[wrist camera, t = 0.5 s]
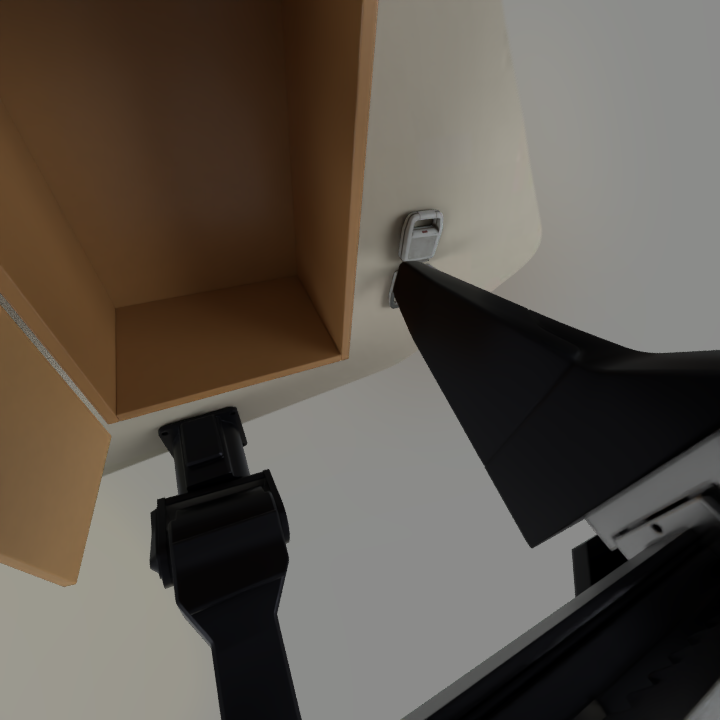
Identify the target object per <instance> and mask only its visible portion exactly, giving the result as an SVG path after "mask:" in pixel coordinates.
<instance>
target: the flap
mask: <svg viewBox="0 0 720 720" xmlns="http://www.w3.org/2000/svg"><path fill="white" fill-rule="evenodd" d="M110 440H111V435H110V434H109V433H108V432H107V430H106V429H105V428H104V427H103V426H102V425H101V423H100V422H99V421H98V420H97V419H96V417H95V416H94V415H93V414H92V413H91V411H90V410H89V409H88V408H87V407H86V406H85V404H84V403H83V402H82V401H81V400H80V398H79V397H78V396H77V395H76V394H75V393H74V391H73V390H72V389H71V388H70V387H69V385H68V384H67V383H66V382H65V381H64V380H63V378H62V377H61V376H60V375H59V374H58V372H57V371H56V370H55V369H54V368H53V367H52V365H51V364H50V363H49V362H48V361H47V359H46V358H45V357H44V356H43V355H42V354H41V352H40V351H39V350H38V349H37V348H36V346H35V345H34V344H33V343H32V342H31V341H30V339H29V338H28V337H27V336H26V335H25V333H24V332H23V331H22V330H21V329H20V327H19V326H18V325H17V324H16V323H15V322H14V320H13V319H12V318H11V317H10V316H9V314H8V313H7V312H6V311H5V310H4V309H3V307H2V306H1V305H0V563H2V564H5V565H8V566H10V567H13V568H15V569H18V570H21V571H23V572H26V573H29V574H32V575H34V576H37V577H39V578H42V579H44V580H47V581H50V582H52V583H55V584H58V585H60V586H63V587H66V586H70V585H74V584H76V582H77V578H78V574H79V570H80V566H81V562H82V557H83V553H84V549H85V544H86V541H87V537H88V532H89V528H90V524H91V520H92V516H93V511H94V507H95V503H96V499H97V495H98V490H99V486H100V482H101V478H102V474H103V469H104V465H105V461H106V457H107V453H108V449H109V444H110Z"/></svg>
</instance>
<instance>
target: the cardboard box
mask: <svg viewBox="0 0 720 720" xmlns="http://www.w3.org/2000/svg"><path fill="white" fill-rule="evenodd" d="M377 12H378V0H0V293H1V294H2V295H3V297H4V298H5V299H6V300H7V302H8V303H9V304H10V305H11V306H12V308H13V309H14V310H15V311H16V313H17V314H18V315H19V316H20V317H21V319H22V320H23V321H24V322H25V324H26V325H27V326H28V327H29V328H30V330H31V331H32V332H33V333H34V335H35V336H36V337H37V338H38V339H39V341H40V342H41V343H42V344H43V346H44V347H45V348H46V349H47V350H48V352H49V353H50V354H51V355H52V356H53V358H54V359H55V360H56V361H57V363H58V364H59V365H60V366H61V367H62V369H63V370H64V371H65V372H66V374H67V375H68V376H69V377H70V378H71V380H72V381H73V382H74V383H75V385H76V386H77V387H78V388H79V389H80V391H81V392H82V393H83V394H84V396H85V397H86V398H87V399H88V400H89V402H90V403H91V404H92V405H93V407H94V408H95V409H96V410H97V411H98V413H99V414H100V415H101V416H102V418H103V419H104V420H105V421H106V422H107V424H112V423H116V422H119V421H123V420H127V419H130V418H134V417H138V416H141V415H145V414H148V413H152V412H156V411H159V410H163V409H167V408H170V407H174V406H178V405H181V404H185V403H189V402H192V401H196V400H200V399H203V398H207V397H210V396H214V395H218V394H221V393H225V392H229V391H232V390H236V389H240V388H243V387H247V386H251V385H254V384H258V383H262V382H265V381H269V380H272V379H276V378H280V377H283V376H287V375H291V374H294V373H298V372H302V371H305V370H309V369H313V368H316V367H320V366H324V365H327V364H331V363H334V362H338V361H340V360H345V359H348V358H349V349H350V337H351V325H352V313H353V301H354V288H355V276H356V264H357V252H358V240H359V228H360V216H361V204H362V192H363V180H364V168H365V156H366V144H367V132H368V120H369V108H370V96H371V84H372V72H373V60H374V48H375V36H376V24H377Z"/></svg>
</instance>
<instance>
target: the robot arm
mask: <svg viewBox="0 0 720 720" xmlns="http://www.w3.org/2000/svg"><path fill="white" fill-rule="evenodd" d="M393 293H394V297H395V299H396V301H397V304H398V306H399V308H400V311H401V313H402V315H403V318H404V320H405V322H406V325H407V327H408V329H409V332H410V334H411V336H412V338H413V340H414V342H415V344H416V345H417V347H418V349H419V351H420V352H421V354H422V356H423V358H424V360H425V361H426V363H427V365H428V367H429V368H430V370H431V372H432V374H433V376H434V378H435V379H436V381H437V383H438V385H439V386H440V388H441V390H442V392H443V393H444V395H445V397H446V399H447V400H448V402H449V404H450V406H451V408H452V409H453V411H454V413H455V415H456V417H457V418H458V420H459V422H460V424H461V426H462V427H463V429H464V431H465V433H466V434H467V436H468V438H469V440H470V442H471V443H472V445H473V447H474V449H475V451H476V452H477V454H478V456H479V458H480V459H481V461H482V463H483V465H485V469H486V470H487V472H488V474H489V476H490V478H491V479H492V481H493V483H494V485H495V487H496V488H497V490H498V492H499V494H500V496H501V497H502V499H503V501H504V503H505V504H506V506H507V508H508V510H509V512H510V513H511V515H512V517H513V518H514V520H515V522H516V524H517V526H518V527H519V529H520V531H521V533H522V535H523V537H524V538H525V540H526V542H527V543H528V544H529V546H530V547H531V548H534V547H535V546H537V545H539V544H541V543H543V542H545V541H546V540H548V539H550V538H552V537H553V536H555V535H557V534H559V533H560V532H562V531H564V530H566V529H567V528H569V527H571V526H573V525H574V524H576V523H578V522H580V521H582V520H583V519H585V520H586V521H587V522H588V524H589V525H590V526H591V527H592V528H593V530H594V531H595V532H596V533H597V535H595V536H594V537H592V538H590V539H588V540H587V541H585V542H584V543H582V544H580V545H578V546H577V547H576V548H574V549H572V559H573V572H574V584H575V598H574V599H573V600H571V601H570V602H568V603H567V604H565V605H564V606H563V607H561V608H560V609H558V610H557V611H555V612H554V613H553V614H551V615H550V616H548V617H547V618H545V619H544V620H542V621H541V622H540V623H538V624H537V625H535V626H534V627H533V628H531V629H530V630H528V631H527V632H526V633H524V634H522V635H521V636H520V637H518V638H517V639H515V640H514V641H512V642H511V643H510V644H508V645H507V646H505V647H504V648H502V649H501V650H500V651H498V652H497V653H495V654H494V655H493V656H491V657H490V658H488V659H487V660H485V661H484V662H482V663H481V664H480V665H478V666H477V667H475V668H474V669H472V670H471V671H470V672H468V673H467V674H465V675H464V676H462V677H461V678H460V679H458V680H457V681H455V682H454V683H453V684H451V685H450V686H448V687H447V688H445V689H444V690H442V691H441V692H440V693H438V694H437V695H435V696H434V697H432V698H431V699H429V700H428V701H427V702H425V703H424V704H422V705H421V706H419V707H418V708H417V709H415V710H414V711H413V712H411V713H410V714H408V715H407V716H405V717H404V718H402V719H401V720H720V350H711V351H692V352H675V353H648V352H640V351H636V350H632V349H629V348H626V347H623V346H621V345H618V344H615V343H613V342H610V341H607V340H605V339H602V338H599V337H597V336H594V335H591V334H589V333H586V332H584V331H581V330H578V329H576V328H573V327H571V326H568V325H565V324H563V323H560V322H558V321H556V320H553V319H551V318H548V317H546V316H543V315H541V314H539V313H537V312H534V311H532V310H528V309H527V308H524V307H523V306H520V305H518V304H515V303H513V302H511V301H508V300H506V299H504V298H501V297H499V296H497V295H494V294H492V293H490V292H488V291H485V290H483V289H481V288H478V287H476V286H474V285H472V284H469V283H467V282H465V281H462V280H460V279H458V278H455V277H453V276H451V275H448V274H446V273H444V272H441V271H439V270H437V269H434V268H432V267H430V266H427V265H425V264H423V263H421V262H418V261H414V260H413V261H404V262H402V263H401V264H400V266H399V269H398V272H397V276H396V279H395V283H394V286H393ZM158 434H159V437H160V438H161V440H162V441H163V443H164V444H165V446H166V447H167V449H168V450H169V452H170V453H171V455H172V456H173V458H174V462H175V471H176V479H177V488H178V495H176V496H173V497H169V498H161V499H157V509H155V510H154V511H152V512H151V526H152V527H151V528H152V538H151V551H150V568H151V569H152V570H154V571H155V572H157V573H159V576H160V579H162V580H163V585H164V588H165V589H166V588H169V587H171V586H174V590H175V600H176V604H177V606H178V607H179V609H180V611H181V613H182V614H183V616H184V618H185V619H186V620H187V621H188V622H189V624H190V625H191V626H192V627H193V628H194V629H195V630H196V631H197V633H198V634H199V635H200V636H201V637H202V638H203V639H204V640H205V642H206V643H207V644H208V645H209V646H210V647H211V649H212V656H213V664H214V670H215V678H216V685H217V692H218V700H219V707H220V714H221V720H302V719H301V715H300V711H299V706H298V702H297V698H296V694H295V689H294V685H293V681H292V677H291V672H290V668H289V664H288V660H287V656H286V651H285V647H284V643H283V639H282V634H281V631H280V626H279V621H278V616H277V611H278V607H279V603H280V598H281V593H282V589H283V585H284V580H285V576H286V572H287V567H288V563H289V556H288V552H287V548H286V543H288V542H289V539H290V533H289V525H288V520H287V515H286V512H285V508H284V505H283V502H282V500H281V497H280V495H279V493H278V490H277V488H276V485H275V483H274V480H273V478H272V475H271V473H270V470H269V469H267V470H263V472H260V473H256V474H253V475H250V473H249V469H248V465H247V461H246V457H245V453H244V449H243V447H244V446H246V445H247V440H246V437H245V433H244V431H243V427H242V424H241V420H240V417H239V414H238V411H237V408H236V407H229V408H226V409H222V410H219V411H215V412H212V413H209V414H205V415H202V416H198V417H195V418H191V419H188V420H184V421H181V422H177V423H174V424H170V425H167V426H164V427H161V428H159V430H158Z"/></svg>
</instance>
